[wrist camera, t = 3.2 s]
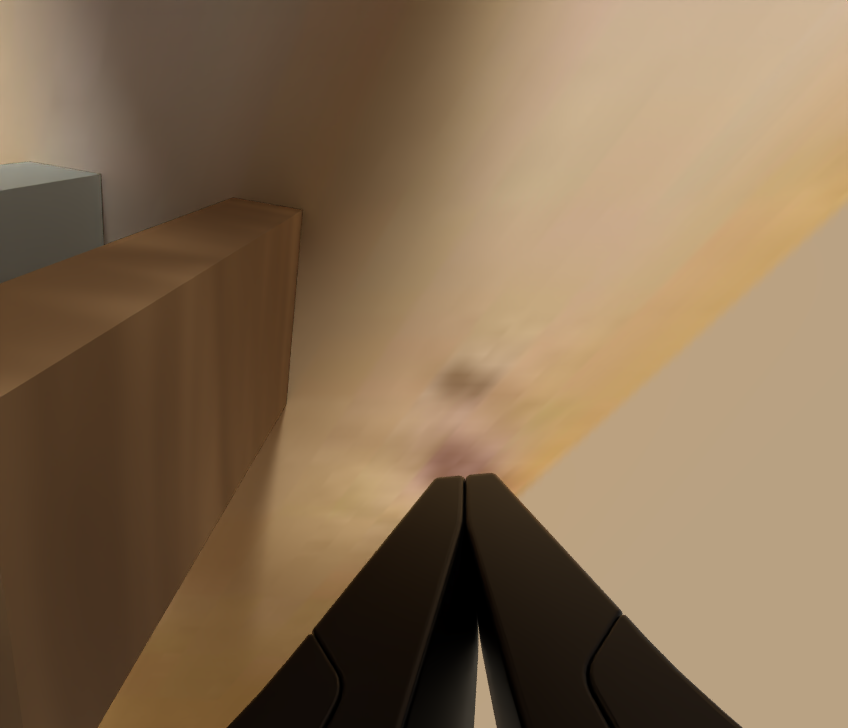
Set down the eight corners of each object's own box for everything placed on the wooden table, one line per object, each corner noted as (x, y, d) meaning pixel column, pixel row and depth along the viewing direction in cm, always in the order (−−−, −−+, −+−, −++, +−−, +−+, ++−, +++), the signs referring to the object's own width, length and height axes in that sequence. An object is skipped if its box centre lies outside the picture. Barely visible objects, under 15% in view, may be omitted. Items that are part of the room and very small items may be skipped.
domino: (302, 209, 14) (-23, 410, 4) (286, 404, 15) (37, 830, 6) (232, 197, 14) (-244, 373, 4) (224, 393, 15) (-115, 805, 6)
